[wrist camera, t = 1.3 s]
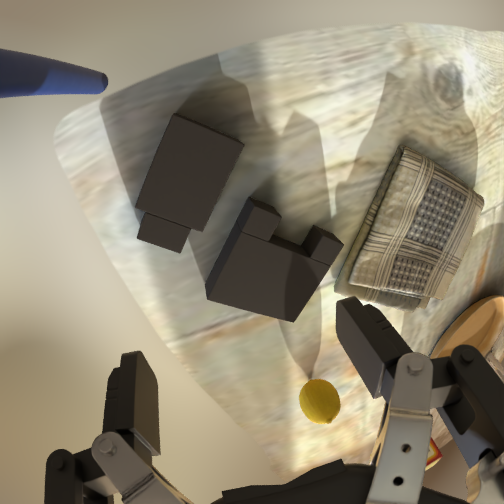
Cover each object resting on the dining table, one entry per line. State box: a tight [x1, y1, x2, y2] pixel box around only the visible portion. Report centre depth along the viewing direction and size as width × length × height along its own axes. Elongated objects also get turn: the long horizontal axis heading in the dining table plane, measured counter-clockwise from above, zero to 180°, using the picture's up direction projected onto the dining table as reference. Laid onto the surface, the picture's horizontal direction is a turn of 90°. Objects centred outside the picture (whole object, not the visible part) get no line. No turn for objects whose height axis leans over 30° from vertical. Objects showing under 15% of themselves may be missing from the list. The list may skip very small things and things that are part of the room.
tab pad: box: [135, 113, 244, 253], centre depth 25 cm, size 6×10×2 cm, turn 152°
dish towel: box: [334, 145, 484, 312], centre depth 33 cm, size 19×18×3 cm
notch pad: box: [205, 197, 344, 322], centre depth 30 cm, size 10×10×2 cm
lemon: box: [299, 379, 340, 424], centre depth 39 cm, size 6×6×8 cm
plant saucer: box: [429, 295, 504, 359], centre depth 49 cm, size 24×24×3 cm
